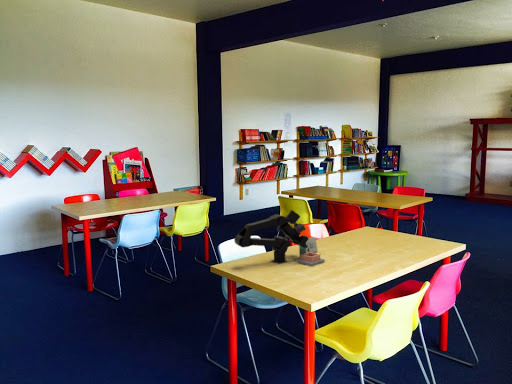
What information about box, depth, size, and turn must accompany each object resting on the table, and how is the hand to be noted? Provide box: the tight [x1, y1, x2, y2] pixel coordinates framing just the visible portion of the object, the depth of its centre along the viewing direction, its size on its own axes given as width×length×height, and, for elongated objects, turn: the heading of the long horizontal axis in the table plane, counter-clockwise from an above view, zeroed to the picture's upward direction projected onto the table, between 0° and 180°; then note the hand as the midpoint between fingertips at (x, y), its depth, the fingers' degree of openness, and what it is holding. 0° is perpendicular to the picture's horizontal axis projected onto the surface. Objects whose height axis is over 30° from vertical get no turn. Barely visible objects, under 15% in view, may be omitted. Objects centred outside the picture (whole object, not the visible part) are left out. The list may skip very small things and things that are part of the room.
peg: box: [298, 245, 306, 259], centre depth 262 cm, size 4×4×12 cm
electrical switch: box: [306, 237, 318, 253], centre depth 274 cm, size 9×5×9 cm, turn 116°
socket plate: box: [295, 252, 325, 267], centre depth 253 cm, size 12×11×4 cm
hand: (304, 246), depth 262 cm, fingers closed on peg, 4 cm apart
